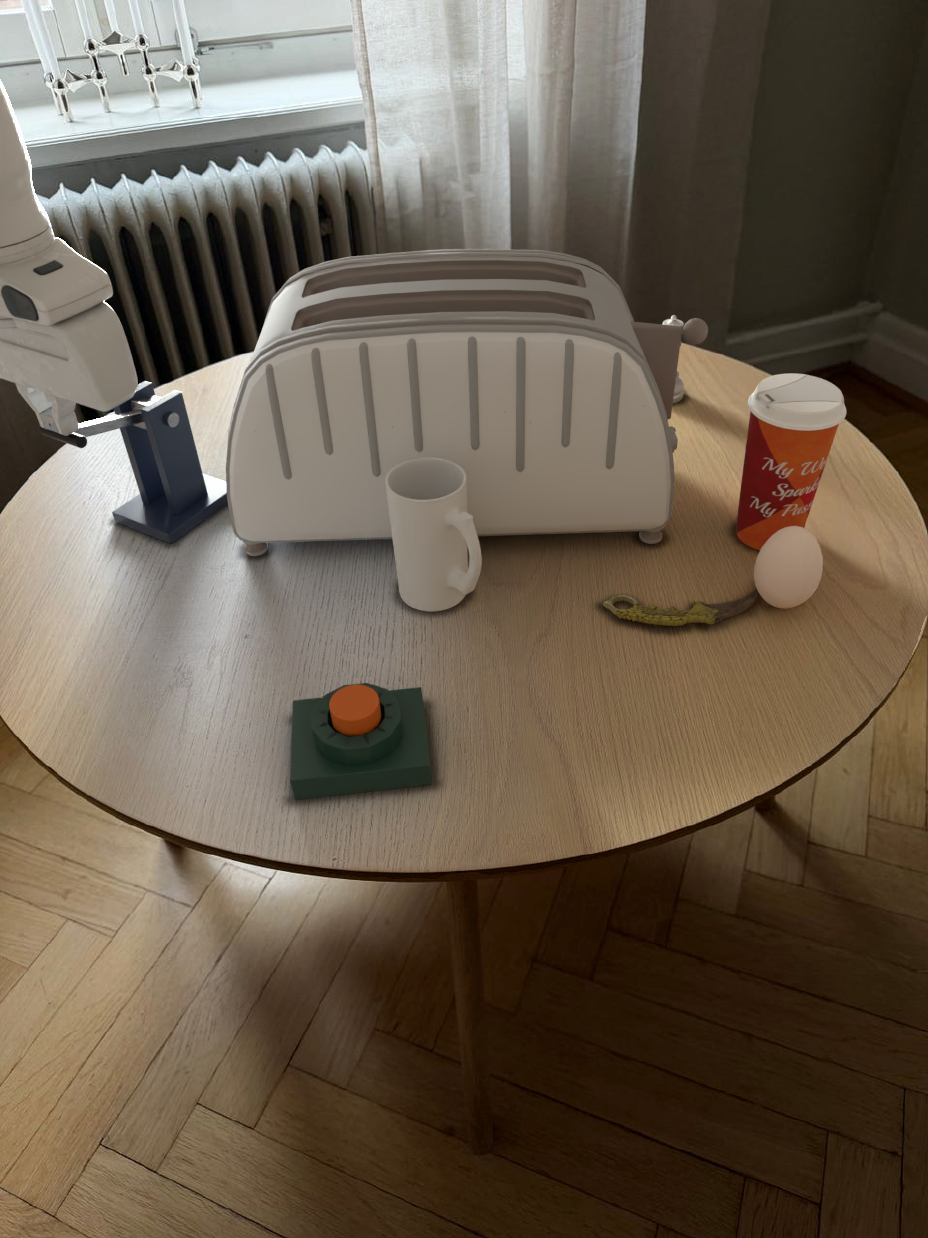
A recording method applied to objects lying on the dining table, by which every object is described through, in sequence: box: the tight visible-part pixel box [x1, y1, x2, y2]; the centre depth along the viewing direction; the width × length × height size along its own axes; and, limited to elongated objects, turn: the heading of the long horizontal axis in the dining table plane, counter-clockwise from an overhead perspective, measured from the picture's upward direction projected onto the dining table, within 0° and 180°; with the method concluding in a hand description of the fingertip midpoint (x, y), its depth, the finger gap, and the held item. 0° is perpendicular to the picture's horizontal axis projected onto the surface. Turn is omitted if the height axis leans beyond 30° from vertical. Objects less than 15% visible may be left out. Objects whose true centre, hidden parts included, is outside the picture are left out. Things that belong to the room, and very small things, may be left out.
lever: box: [38, 395, 161, 449], centre depth 85 cm, size 12×5×2 cm, turn 149°
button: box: [329, 684, 381, 736], centre depth 67 cm, size 4×4×2 cm
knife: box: [602, 587, 760, 627], centre depth 80 cm, size 14×1×5 cm
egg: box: [753, 526, 824, 609], centre depth 79 cm, size 6×6×8 cm
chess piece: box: [662, 314, 685, 404], centre depth 107 cm, size 4×4×10 cm
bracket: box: [111, 380, 228, 545], centre depth 92 cm, size 10×8×13 cm
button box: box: [289, 682, 433, 801], centre depth 68 cm, size 10×8×4 cm
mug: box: [385, 457, 483, 613], centre depth 79 cm, size 10×7×12 cm, turn 40°
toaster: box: [225, 248, 709, 557], centre depth 88 cm, size 21×45×22 cm, turn 90°
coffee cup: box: [735, 372, 847, 551], centre depth 84 cm, size 8×8×15 cm
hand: (61, 429), depth 80 cm, fingers closed
